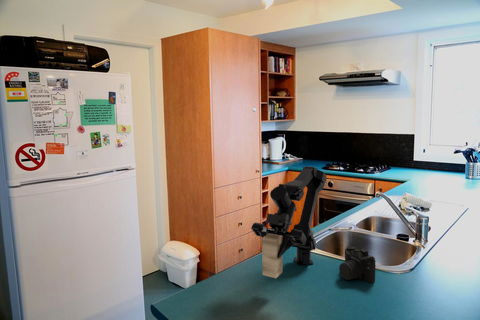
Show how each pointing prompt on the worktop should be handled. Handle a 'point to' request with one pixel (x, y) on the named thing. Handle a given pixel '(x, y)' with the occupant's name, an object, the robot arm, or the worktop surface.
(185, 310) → the worktop surface
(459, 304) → the worktop surface
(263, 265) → the maple block
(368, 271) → the camera
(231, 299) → the worktop surface
